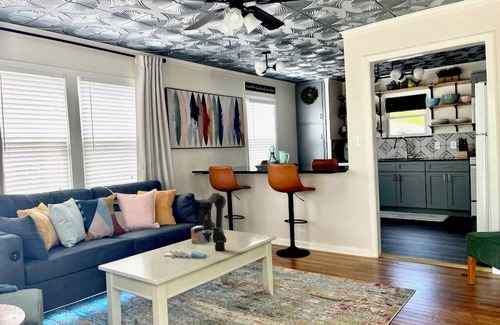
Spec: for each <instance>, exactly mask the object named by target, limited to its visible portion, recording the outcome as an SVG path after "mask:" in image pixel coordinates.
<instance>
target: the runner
mask: <svg viewBox="0 0 500 325" xmlns="http://www.w3.org/2000/svg"><path fill="white" fill-rule="evenodd" d="M210 257H211V255H207V254H206V257H204V258H199V257H195V256H194V257H192V258H190V257H188V256H187V257H186V258H185V257H183V256H181V257H178V256H176V257H171V259H181V260H182V259H183V260H200V261H202V260H204V261H205V260H206V259H209V258H210Z"/></svg>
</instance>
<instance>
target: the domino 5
mask: <svg viewBox="0 0 500 325" xmlns="http://www.w3.org/2000/svg"><path fill="white" fill-rule="evenodd" d="M206 255H207V254H206V253H204V252H203V253H202V252H199V251H193V252H192V253H191V256H195V257H199V258H204V257H206Z"/></svg>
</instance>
